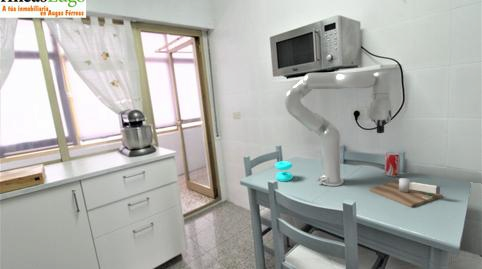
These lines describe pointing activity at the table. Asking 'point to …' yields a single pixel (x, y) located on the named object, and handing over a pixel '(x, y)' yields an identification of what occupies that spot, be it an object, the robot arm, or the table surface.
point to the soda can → (392, 164)
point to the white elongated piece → (417, 186)
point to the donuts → (284, 175)
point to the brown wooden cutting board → (404, 194)
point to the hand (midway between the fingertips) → (380, 132)
